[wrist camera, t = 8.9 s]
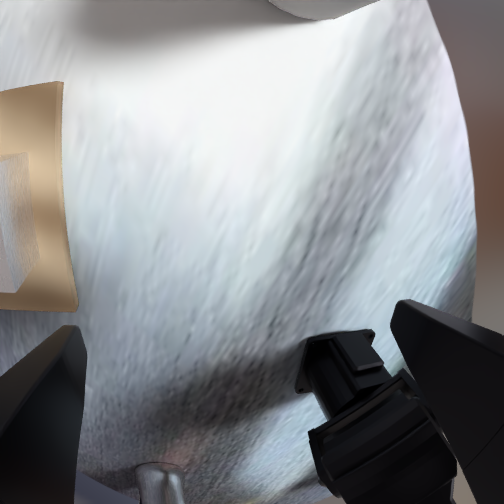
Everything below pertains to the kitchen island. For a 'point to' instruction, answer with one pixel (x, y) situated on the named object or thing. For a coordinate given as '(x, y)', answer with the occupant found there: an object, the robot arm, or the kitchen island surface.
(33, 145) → the peg stand
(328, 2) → the can
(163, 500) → the beer glass
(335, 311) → the kitchen island surface
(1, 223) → the steel collar
